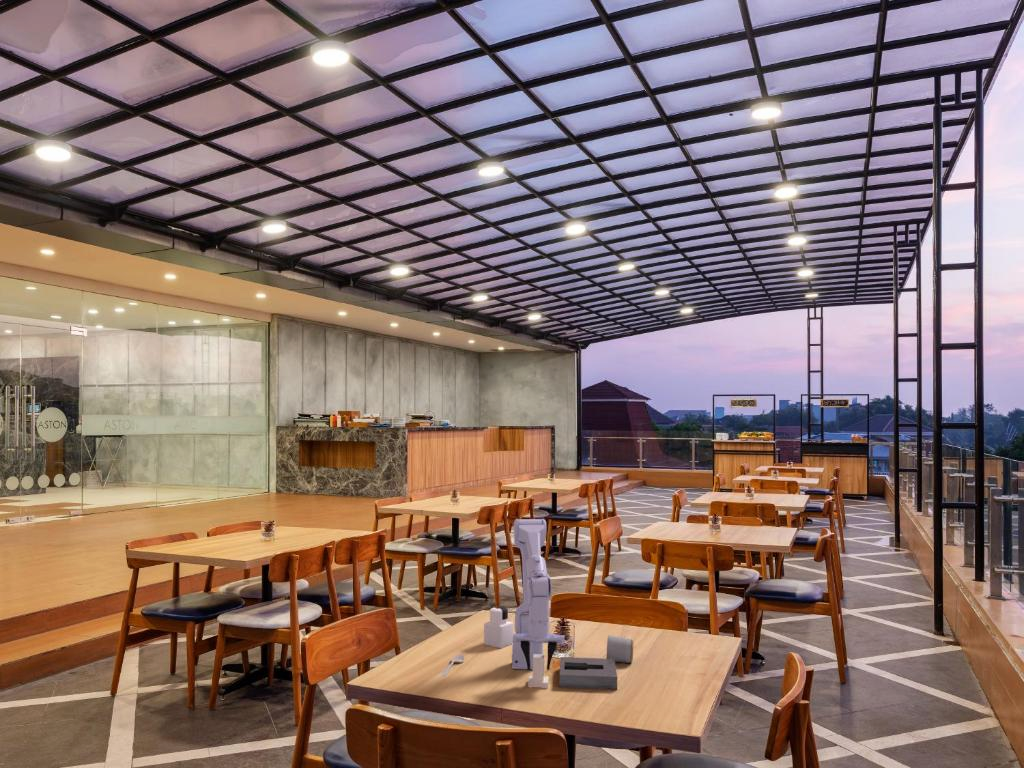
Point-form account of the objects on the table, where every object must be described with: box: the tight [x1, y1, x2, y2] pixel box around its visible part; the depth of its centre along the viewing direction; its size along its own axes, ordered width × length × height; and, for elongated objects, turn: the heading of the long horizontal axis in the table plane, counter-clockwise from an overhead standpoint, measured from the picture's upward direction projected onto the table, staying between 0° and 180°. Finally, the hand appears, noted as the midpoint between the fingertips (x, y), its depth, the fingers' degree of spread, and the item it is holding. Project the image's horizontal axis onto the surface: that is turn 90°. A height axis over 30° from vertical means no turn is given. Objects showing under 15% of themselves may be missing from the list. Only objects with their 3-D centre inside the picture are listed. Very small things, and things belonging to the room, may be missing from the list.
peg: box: [527, 653, 550, 689], centre depth 215 cm, size 6×6×8 cm
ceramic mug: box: [605, 635, 634, 664], centre depth 238 cm, size 11×8×8 cm
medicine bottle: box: [483, 606, 514, 649], centre depth 253 cm, size 7×7×12 cm
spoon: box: [440, 654, 465, 677], centre depth 228 cm, size 4×21×2 cm, turn 165°
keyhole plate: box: [559, 656, 618, 691], centre depth 220 cm, size 16×16×4 cm
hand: (538, 668), depth 215 cm, fingers open, 5 cm apart
